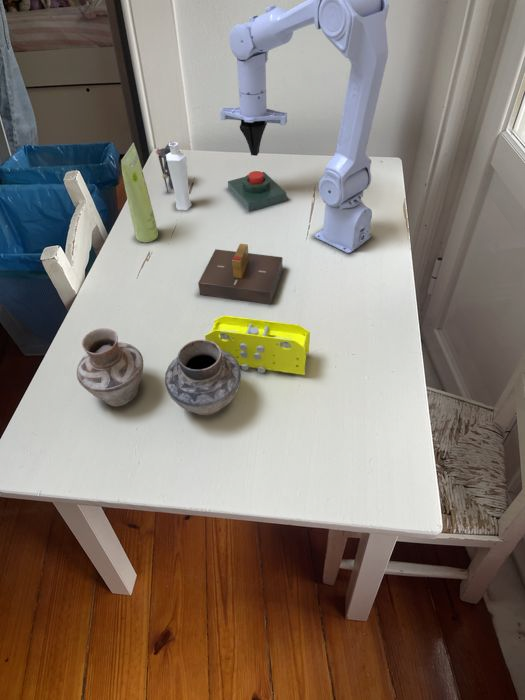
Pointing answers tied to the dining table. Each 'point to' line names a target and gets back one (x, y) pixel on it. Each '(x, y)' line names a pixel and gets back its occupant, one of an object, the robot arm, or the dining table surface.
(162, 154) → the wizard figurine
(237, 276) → the wooden block
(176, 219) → the dining table surface
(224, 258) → the knob panel
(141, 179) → the tube
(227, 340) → the yellow toy chassis
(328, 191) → the robot arm
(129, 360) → the twin painted vases
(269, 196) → the box
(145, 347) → the dining table surface
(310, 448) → the dining table surface
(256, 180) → the button
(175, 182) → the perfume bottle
